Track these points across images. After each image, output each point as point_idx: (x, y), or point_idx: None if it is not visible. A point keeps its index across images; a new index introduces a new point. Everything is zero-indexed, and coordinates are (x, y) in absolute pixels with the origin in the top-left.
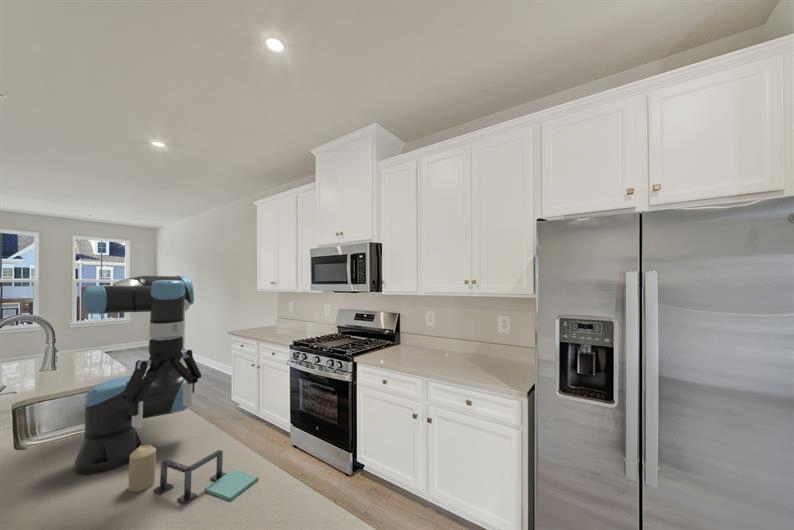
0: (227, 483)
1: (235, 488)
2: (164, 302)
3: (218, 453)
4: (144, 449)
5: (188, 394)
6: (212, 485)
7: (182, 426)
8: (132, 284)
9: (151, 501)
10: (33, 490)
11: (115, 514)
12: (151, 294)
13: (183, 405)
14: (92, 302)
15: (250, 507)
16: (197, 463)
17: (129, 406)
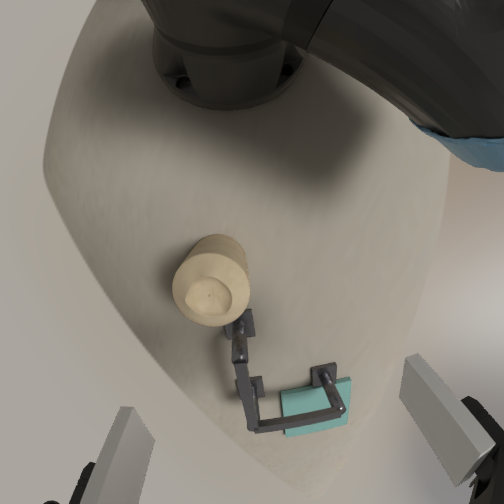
0: (311, 408)
1: (306, 426)
2: None
3: (332, 417)
4: (214, 293)
5: (430, 435)
6: (294, 397)
7: None
8: None
9: (206, 341)
10: (90, 73)
11: (149, 321)
12: None
13: (404, 364)
14: None
15: (289, 454)
16: (276, 429)
17: (73, 499)
